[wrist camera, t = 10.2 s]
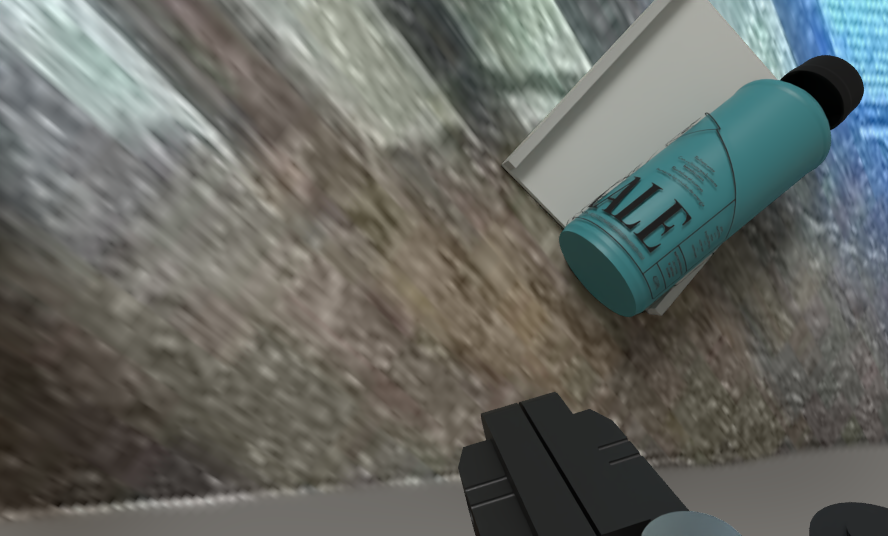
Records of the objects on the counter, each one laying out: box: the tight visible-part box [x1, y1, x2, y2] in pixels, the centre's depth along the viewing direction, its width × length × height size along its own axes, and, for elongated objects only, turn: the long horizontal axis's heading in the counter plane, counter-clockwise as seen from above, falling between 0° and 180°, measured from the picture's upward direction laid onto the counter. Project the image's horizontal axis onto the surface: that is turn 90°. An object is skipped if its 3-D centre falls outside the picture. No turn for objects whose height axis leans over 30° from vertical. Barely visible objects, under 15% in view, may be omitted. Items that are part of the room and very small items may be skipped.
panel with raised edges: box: [502, 0, 777, 316], centre depth 35 cm, size 17×13×1 cm
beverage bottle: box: [559, 55, 864, 317], centre depth 32 cm, size 6×7×20 cm
